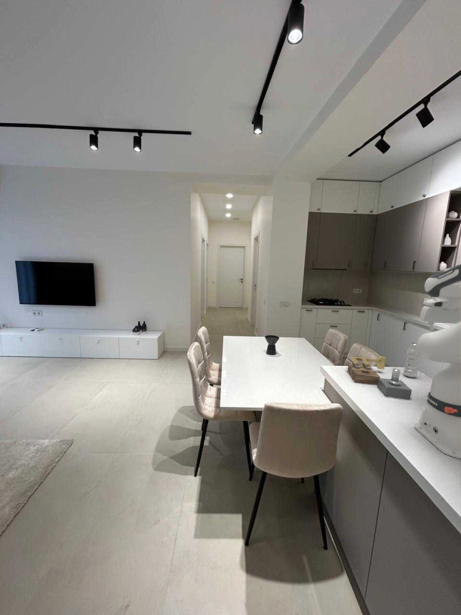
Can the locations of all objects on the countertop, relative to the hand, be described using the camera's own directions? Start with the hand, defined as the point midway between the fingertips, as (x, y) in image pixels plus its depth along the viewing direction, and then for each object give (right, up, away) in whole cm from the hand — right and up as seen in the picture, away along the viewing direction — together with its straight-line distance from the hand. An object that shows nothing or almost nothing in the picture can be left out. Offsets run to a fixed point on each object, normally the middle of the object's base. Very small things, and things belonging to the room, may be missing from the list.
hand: (443, 332), depth 122 cm
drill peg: (-18, -31, +9) cm, 37 cm away
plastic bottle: (+5, -29, +30) cm, 42 cm away
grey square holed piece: (-18, -31, +9) cm, 37 cm away
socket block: (-25, -28, +25) cm, 46 cm away
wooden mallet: (-18, -25, +32) cm, 44 cm away
